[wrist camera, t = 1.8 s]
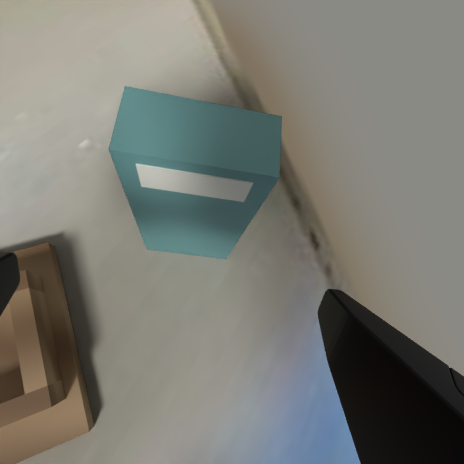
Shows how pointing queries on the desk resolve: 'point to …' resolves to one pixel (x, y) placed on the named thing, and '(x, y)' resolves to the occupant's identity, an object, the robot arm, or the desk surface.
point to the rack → (39, 363)
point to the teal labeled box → (193, 169)
